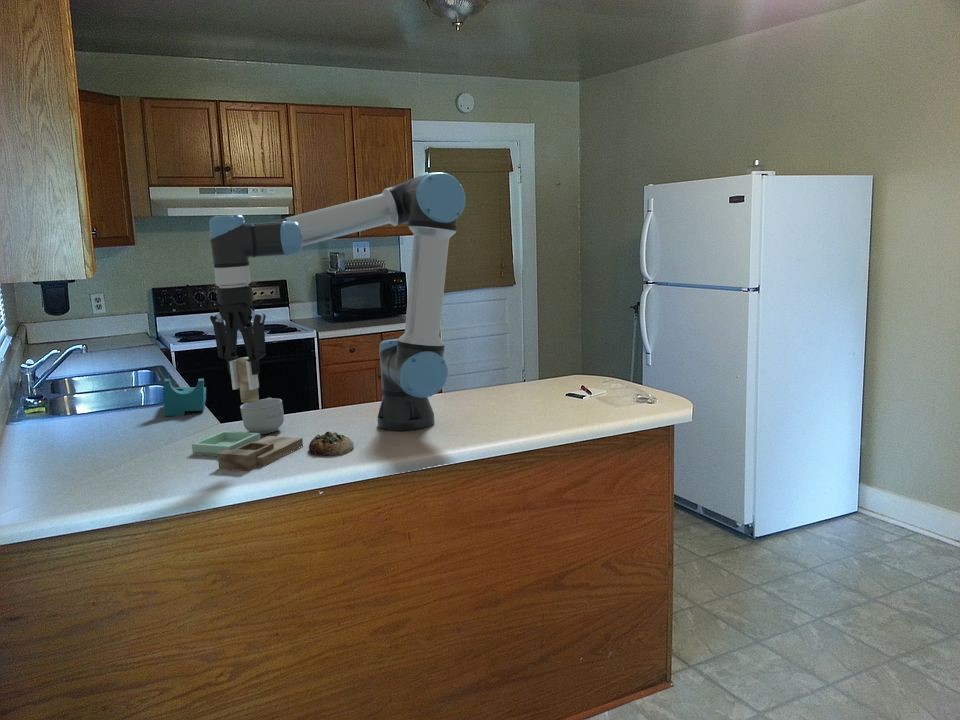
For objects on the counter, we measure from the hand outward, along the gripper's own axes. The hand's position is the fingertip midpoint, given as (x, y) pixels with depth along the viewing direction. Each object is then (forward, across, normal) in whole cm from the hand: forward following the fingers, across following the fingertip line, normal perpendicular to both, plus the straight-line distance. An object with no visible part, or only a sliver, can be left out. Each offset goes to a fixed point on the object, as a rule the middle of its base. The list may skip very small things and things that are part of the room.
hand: (245, 388), depth 175 cm
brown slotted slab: (+18, 0, -5) cm, 18 cm away
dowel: (+3, 0, -1) cm, 3 cm away
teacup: (+18, +14, -24) cm, 33 cm away
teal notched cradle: (+17, +54, -41) cm, 70 cm away
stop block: (+17, 0, +5) cm, 18 cm away
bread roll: (+18, -14, -12) cm, 26 cm away
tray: (+17, +13, -7) cm, 23 cm away
